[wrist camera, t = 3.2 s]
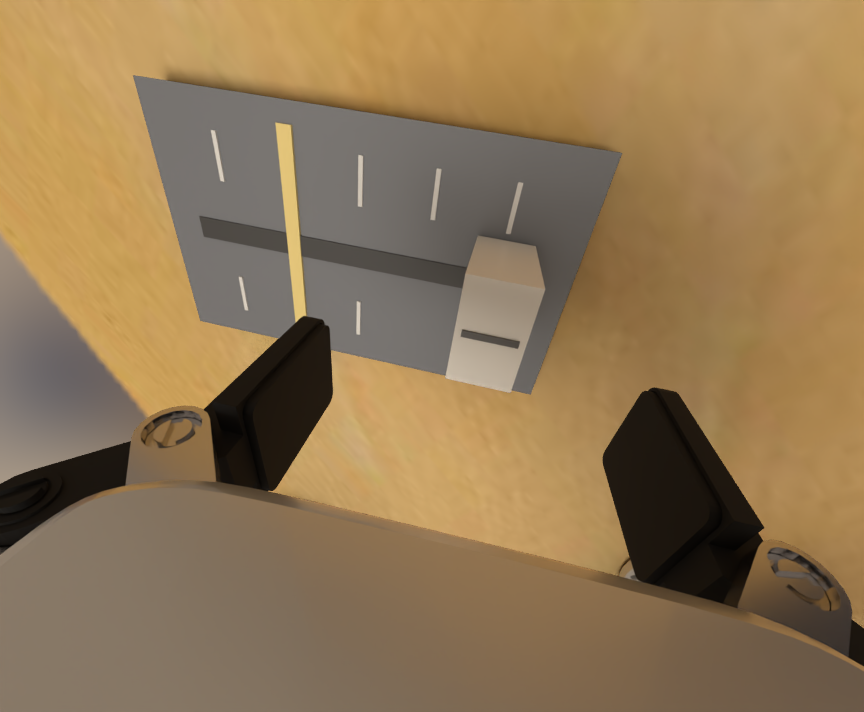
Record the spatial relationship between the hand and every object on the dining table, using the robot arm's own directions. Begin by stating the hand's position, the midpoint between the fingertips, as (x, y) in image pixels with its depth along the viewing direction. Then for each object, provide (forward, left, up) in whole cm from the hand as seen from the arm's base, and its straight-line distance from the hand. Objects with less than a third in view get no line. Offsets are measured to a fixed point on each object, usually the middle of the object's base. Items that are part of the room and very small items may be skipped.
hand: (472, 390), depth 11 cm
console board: (+8, 0, -13) cm, 15 cm away
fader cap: (0, 0, -10) cm, 10 cm away
